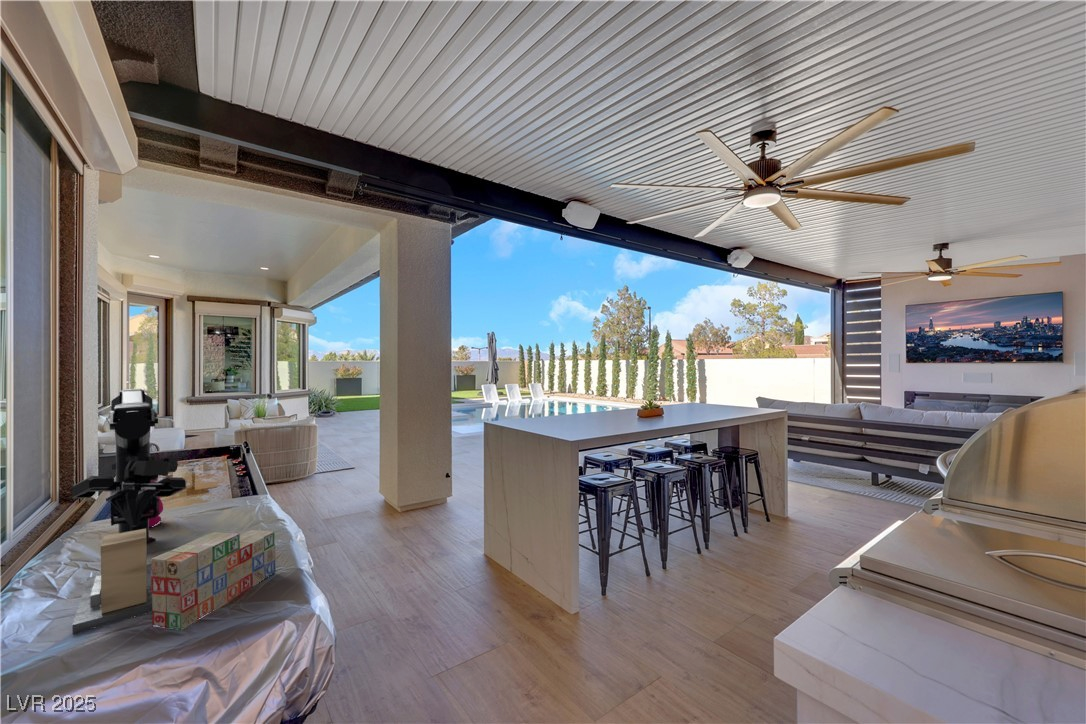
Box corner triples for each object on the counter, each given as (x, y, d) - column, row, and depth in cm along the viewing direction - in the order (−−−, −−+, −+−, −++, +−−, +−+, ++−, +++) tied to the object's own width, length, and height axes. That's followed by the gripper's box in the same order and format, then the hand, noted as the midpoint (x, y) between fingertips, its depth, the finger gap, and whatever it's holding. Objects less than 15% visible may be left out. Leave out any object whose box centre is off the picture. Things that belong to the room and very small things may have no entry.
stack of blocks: (251, 571, 101) (250, 515, 100) (276, 573, 99) (275, 517, 99) (151, 628, 80) (150, 557, 79) (181, 632, 78) (180, 560, 78)
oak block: (104, 600, 85) (103, 536, 85) (146, 589, 89) (146, 528, 89) (101, 613, 81) (100, 546, 81) (146, 601, 85) (145, 537, 85)
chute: (87, 584, 94) (87, 568, 94) (169, 566, 103) (168, 550, 103) (72, 633, 78) (72, 613, 78) (171, 606, 86) (170, 588, 86)
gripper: (108, 438, 93) (108, 515, 87) (201, 446, 110) (205, 510, 104) (71, 459, 95) (68, 535, 89) (167, 463, 112) (170, 527, 106)
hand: (134, 526), depth 97 cm, fingers closed
